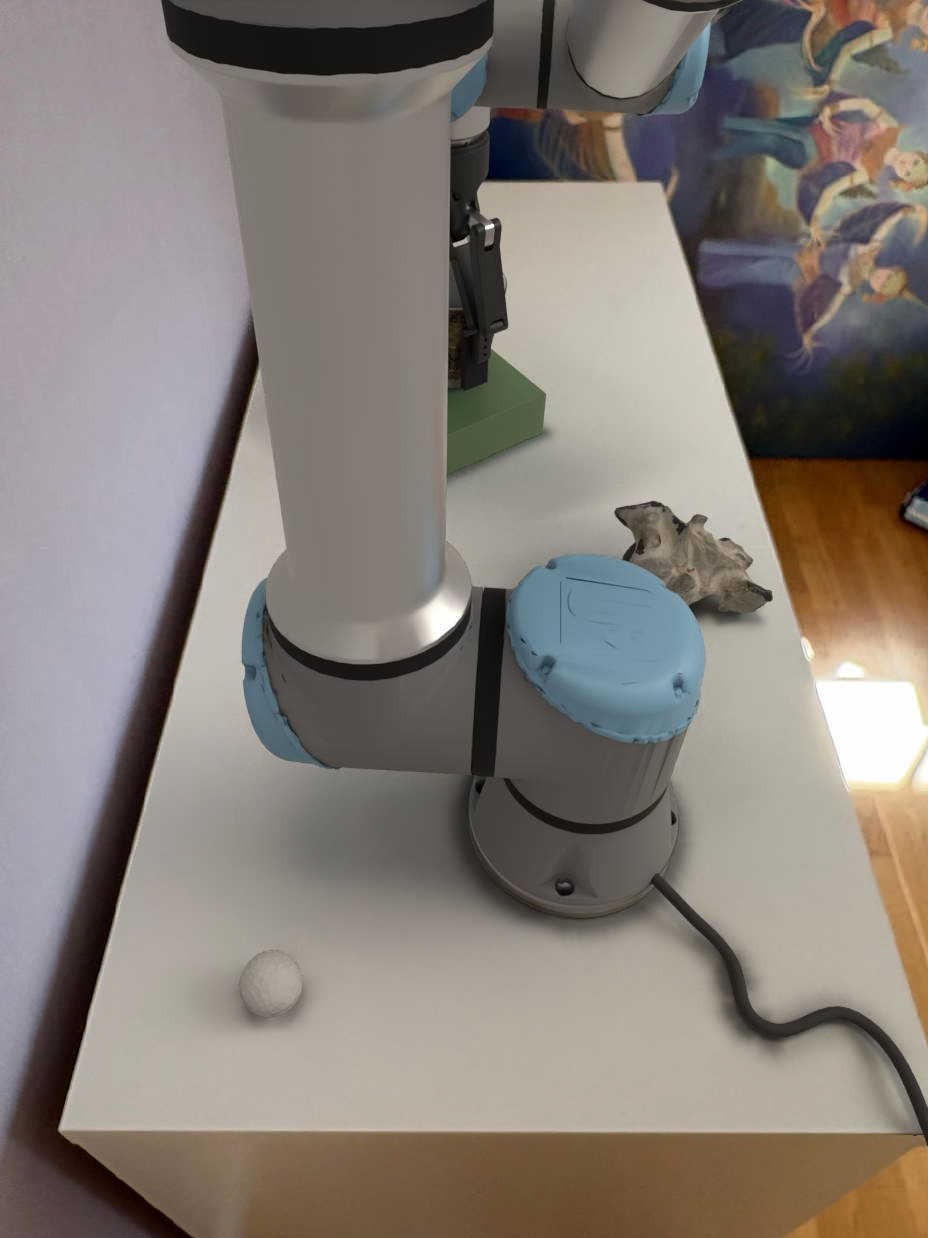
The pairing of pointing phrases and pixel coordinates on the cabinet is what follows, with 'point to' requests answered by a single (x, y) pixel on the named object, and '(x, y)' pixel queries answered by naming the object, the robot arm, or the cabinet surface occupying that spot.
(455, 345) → the ceramic cup
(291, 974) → the golf ball
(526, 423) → the green block
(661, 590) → the robot arm
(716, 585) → the decorative stone
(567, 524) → the cabinet surface
